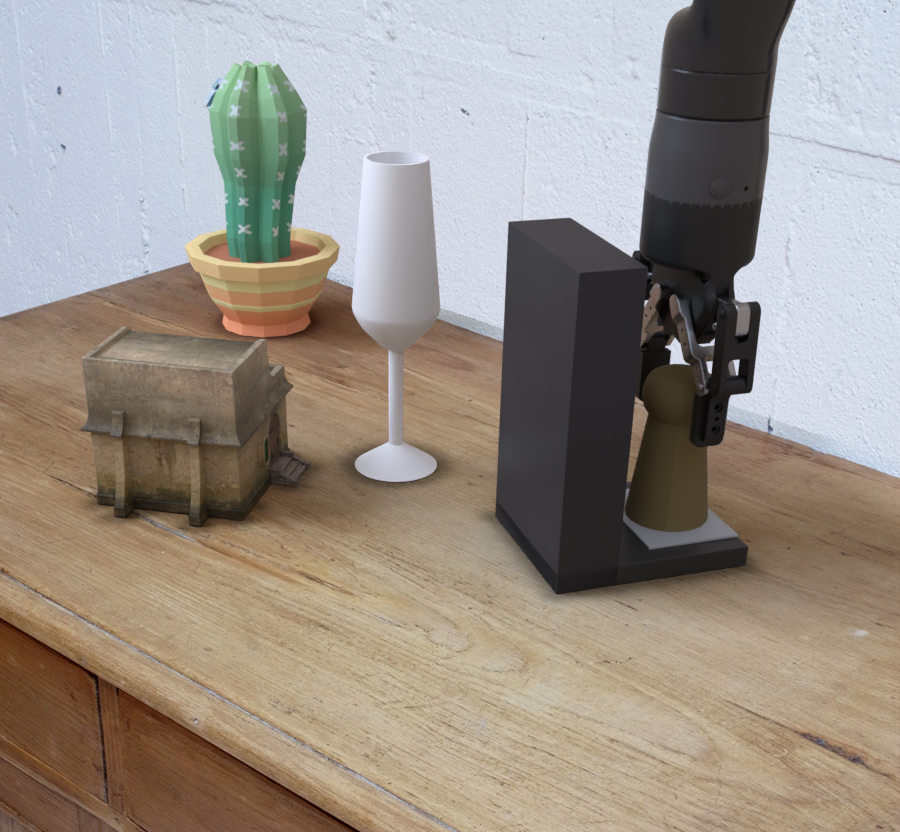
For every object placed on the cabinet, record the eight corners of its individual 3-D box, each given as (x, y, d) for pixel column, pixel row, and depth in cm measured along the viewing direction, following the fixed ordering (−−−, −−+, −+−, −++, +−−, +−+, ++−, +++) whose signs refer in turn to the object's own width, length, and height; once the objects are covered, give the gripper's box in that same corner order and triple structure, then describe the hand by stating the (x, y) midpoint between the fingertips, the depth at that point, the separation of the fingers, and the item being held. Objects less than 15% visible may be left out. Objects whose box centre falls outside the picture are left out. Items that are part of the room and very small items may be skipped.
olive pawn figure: (640, 488, 99) (654, 349, 94) (717, 505, 97) (737, 363, 92) (612, 520, 95) (626, 375, 89) (693, 539, 92) (713, 392, 87)
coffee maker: (669, 493, 103) (702, 208, 91) (745, 565, 93) (794, 256, 82) (495, 516, 98) (508, 221, 87) (556, 594, 89) (579, 272, 78)
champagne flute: (371, 442, 110) (369, 144, 98) (448, 454, 108) (455, 152, 96) (341, 474, 104) (334, 163, 92) (421, 487, 103) (425, 171, 90)
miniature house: (263, 534, 95) (254, 385, 89) (82, 512, 98) (62, 366, 92) (321, 451, 108) (317, 316, 102) (160, 434, 110) (147, 301, 104)
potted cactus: (342, 299, 143) (336, 52, 130) (341, 348, 129) (335, 78, 117) (198, 299, 142) (179, 50, 129) (182, 348, 128) (159, 76, 116)
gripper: (815, 209, 79) (776, 455, 87) (703, 158, 91) (678, 380, 99) (704, 216, 77) (674, 468, 85) (604, 163, 89) (586, 390, 97)
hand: (676, 420), depth 92 cm, fingers open, 8 cm apart
